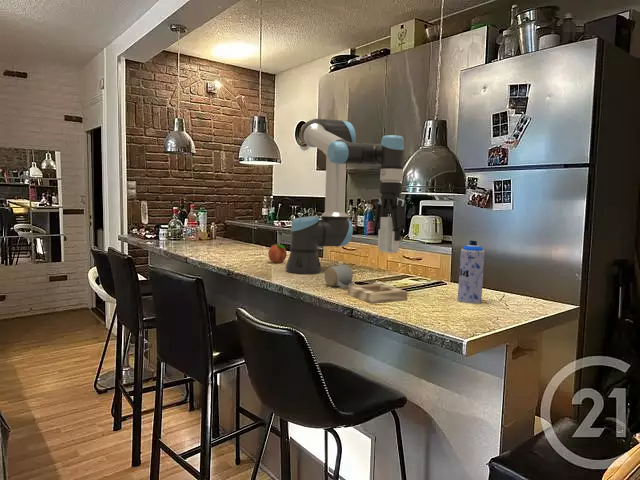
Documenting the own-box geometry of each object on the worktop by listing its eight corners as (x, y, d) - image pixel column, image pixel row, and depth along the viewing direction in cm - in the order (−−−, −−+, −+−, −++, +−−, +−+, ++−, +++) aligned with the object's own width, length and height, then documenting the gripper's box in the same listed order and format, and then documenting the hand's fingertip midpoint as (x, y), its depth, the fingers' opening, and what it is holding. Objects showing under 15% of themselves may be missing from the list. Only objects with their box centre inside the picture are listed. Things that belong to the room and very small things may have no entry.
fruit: (279, 260, 230) (279, 240, 229) (290, 263, 223) (291, 242, 222) (264, 262, 225) (264, 241, 224) (275, 264, 218) (276, 243, 217)
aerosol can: (452, 298, 158) (455, 239, 156) (470, 297, 161) (474, 239, 159) (468, 304, 151) (472, 242, 149) (487, 302, 154) (491, 241, 152)
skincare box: (397, 252, 161) (399, 217, 160) (386, 253, 160) (387, 217, 158) (389, 250, 167) (391, 216, 165) (378, 250, 165) (380, 216, 164)
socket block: (347, 294, 160) (348, 286, 159) (381, 291, 167) (381, 283, 166) (371, 303, 148) (372, 294, 147) (406, 299, 154) (407, 291, 154)
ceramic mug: (322, 285, 174) (323, 264, 173) (339, 282, 180) (339, 262, 179) (341, 290, 166) (342, 269, 165) (358, 288, 171) (359, 267, 171)
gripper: (365, 181, 167) (362, 246, 169) (401, 181, 150) (398, 252, 153) (381, 182, 171) (379, 245, 173) (419, 182, 154) (415, 252, 157)
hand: (388, 248), depth 163 cm, fingers closed on skincare box, 7 cm apart
